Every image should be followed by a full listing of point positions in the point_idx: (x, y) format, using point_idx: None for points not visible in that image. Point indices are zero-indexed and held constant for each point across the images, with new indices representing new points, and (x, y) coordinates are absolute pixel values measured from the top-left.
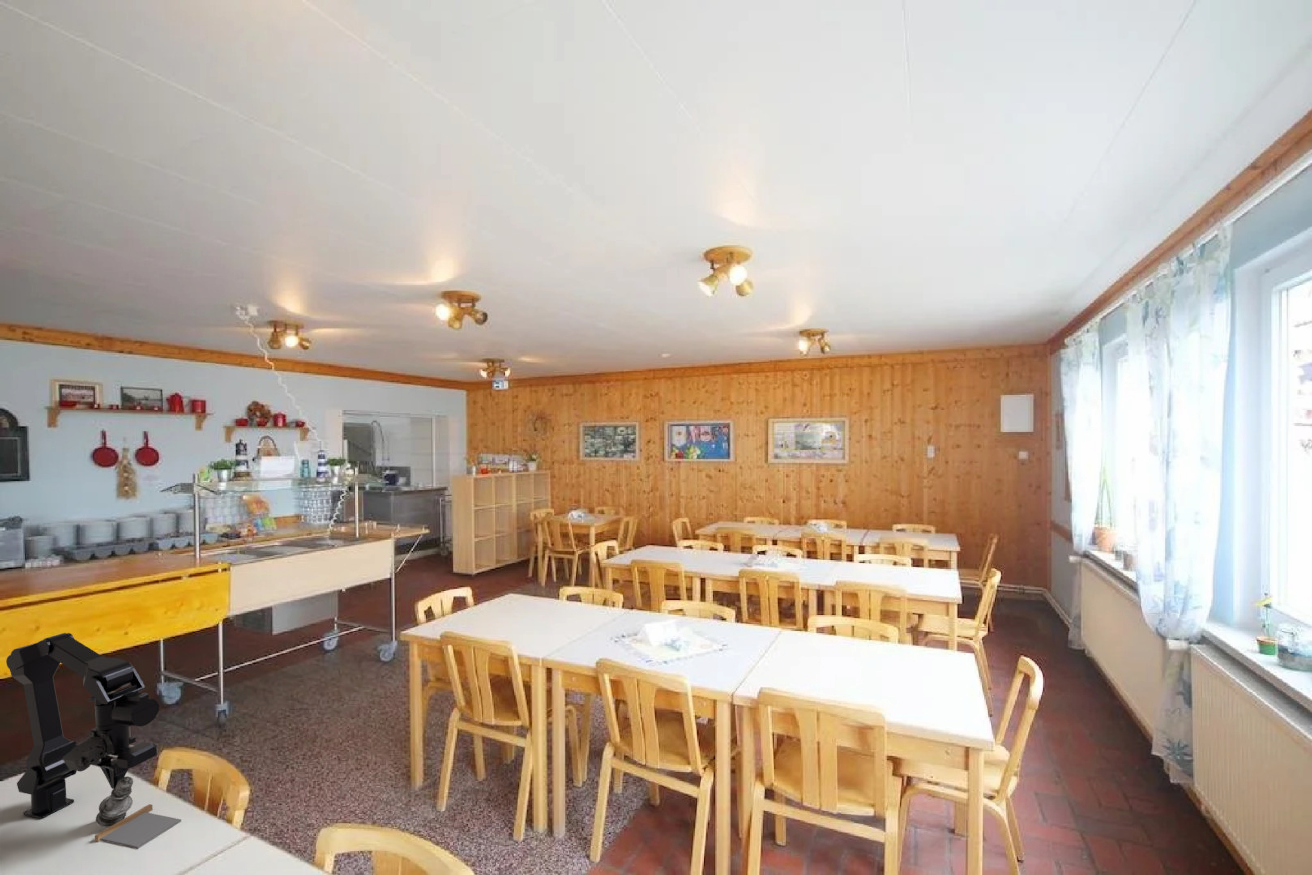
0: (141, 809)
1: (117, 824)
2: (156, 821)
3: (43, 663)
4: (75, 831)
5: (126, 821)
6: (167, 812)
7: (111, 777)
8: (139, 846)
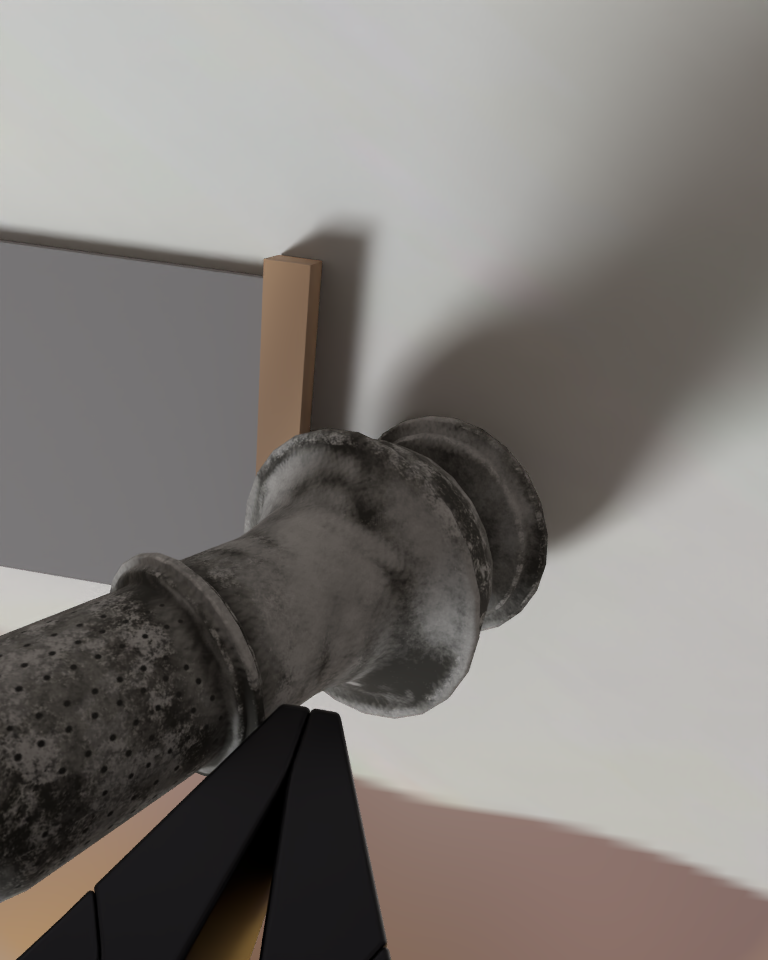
0: None
1: (267, 434)
2: (46, 516)
3: None
4: (664, 364)
5: None
6: None
7: (173, 887)
8: None
